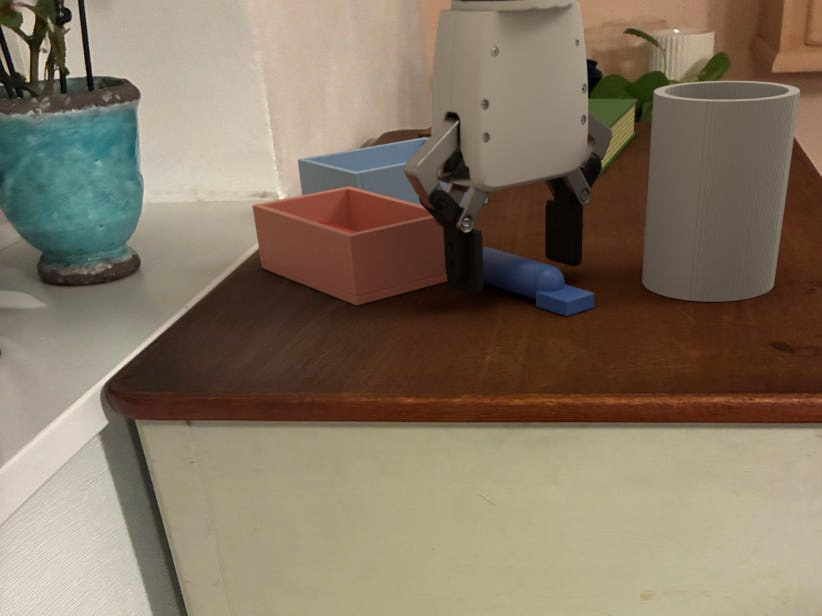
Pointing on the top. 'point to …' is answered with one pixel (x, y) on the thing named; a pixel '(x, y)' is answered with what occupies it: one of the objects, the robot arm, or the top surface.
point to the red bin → (351, 243)
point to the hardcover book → (610, 113)
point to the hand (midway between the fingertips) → (515, 274)
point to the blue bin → (364, 170)
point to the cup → (717, 188)
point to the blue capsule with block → (534, 282)
